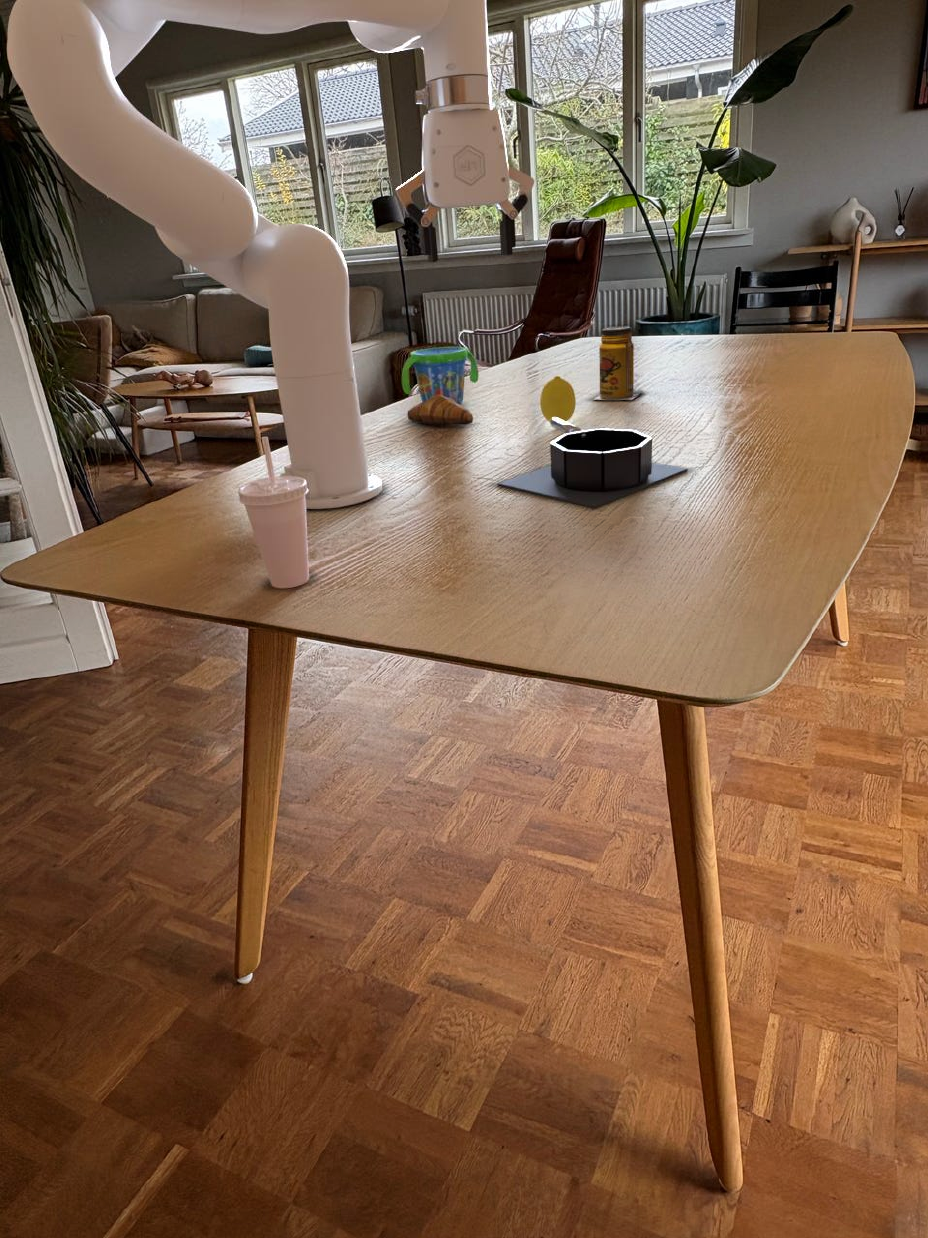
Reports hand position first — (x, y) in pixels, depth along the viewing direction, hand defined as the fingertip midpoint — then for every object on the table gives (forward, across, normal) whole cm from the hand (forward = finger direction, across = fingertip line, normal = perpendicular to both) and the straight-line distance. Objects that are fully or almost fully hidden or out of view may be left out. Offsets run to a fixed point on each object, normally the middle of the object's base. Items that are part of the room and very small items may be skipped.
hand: (470, 258), depth 102 cm
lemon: (+26, +16, +15) cm, 34 cm away
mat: (+26, +10, -15) cm, 32 cm away
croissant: (+26, -1, +28) cm, 39 cm away
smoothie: (+26, -28, -34) cm, 51 cm away
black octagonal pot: (+26, +11, -11) cm, 30 cm away
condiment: (+26, +34, +32) cm, 54 cm away
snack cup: (+26, +3, +43) cm, 50 cm away
